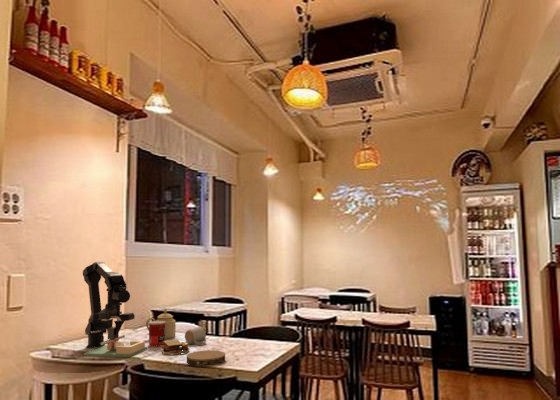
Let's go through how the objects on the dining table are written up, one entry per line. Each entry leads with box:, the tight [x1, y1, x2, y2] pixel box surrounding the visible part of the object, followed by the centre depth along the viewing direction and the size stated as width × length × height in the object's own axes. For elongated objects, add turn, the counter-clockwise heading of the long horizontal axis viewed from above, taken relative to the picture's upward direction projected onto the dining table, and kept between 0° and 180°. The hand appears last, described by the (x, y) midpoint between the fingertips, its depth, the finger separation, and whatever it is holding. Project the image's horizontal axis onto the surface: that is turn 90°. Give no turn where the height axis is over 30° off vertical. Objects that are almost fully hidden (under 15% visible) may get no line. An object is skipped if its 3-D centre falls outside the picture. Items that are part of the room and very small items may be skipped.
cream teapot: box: [145, 308, 177, 340], centre depth 241 cm, size 15×11×15 cm
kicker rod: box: [101, 326, 125, 350], centre depth 208 cm, size 3×17×10 cm, turn 167°
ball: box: [114, 339, 125, 349], centre depth 207 cm, size 4×4×4 cm
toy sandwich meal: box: [161, 339, 190, 355], centre depth 206 cm, size 12×14×5 cm
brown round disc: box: [186, 349, 226, 367], centre depth 188 cm, size 16×16×3 cm
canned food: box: [148, 320, 166, 347], centre depth 223 cm, size 8×8×11 cm
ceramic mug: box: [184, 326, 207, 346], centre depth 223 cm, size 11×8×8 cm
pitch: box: [83, 340, 148, 358], centre depth 207 cm, size 22×16×4 cm
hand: (113, 335), depth 208 cm, fingers closed on kicker rod, 3 cm apart
